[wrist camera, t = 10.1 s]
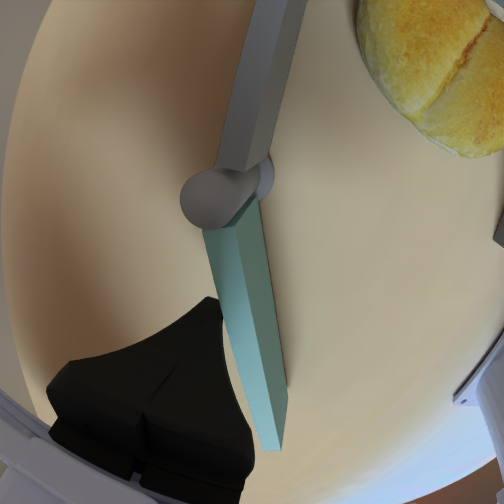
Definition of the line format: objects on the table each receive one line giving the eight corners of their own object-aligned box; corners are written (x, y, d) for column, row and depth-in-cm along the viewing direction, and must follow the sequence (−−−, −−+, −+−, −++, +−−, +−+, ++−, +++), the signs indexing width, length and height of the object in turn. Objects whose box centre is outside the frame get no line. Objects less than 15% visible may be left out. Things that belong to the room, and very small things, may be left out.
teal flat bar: (219, 160, 12) (174, 178, 8) (257, 154, 11) (230, 168, 7) (267, 398, 17) (256, 456, 13) (292, 398, 16) (285, 457, 13)
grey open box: (539, 29, 5) (589, 18, 1) (484, 281, 12) (527, 335, 8) (285, -86, 6) (273, -141, 2) (209, 195, 13) (161, 231, 9)
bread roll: (406, -44, 6) (430, -83, 3) (529, 86, 7) (577, 85, 4) (308, 43, 10) (309, 6, 6) (454, 186, 11) (501, 210, 7)
